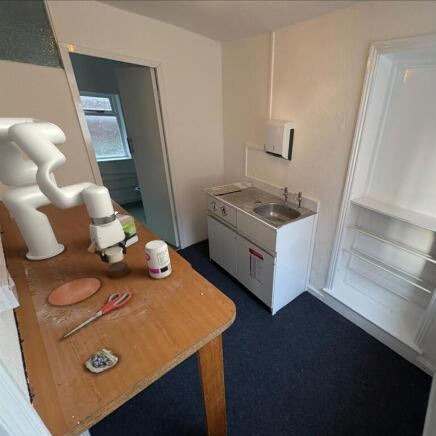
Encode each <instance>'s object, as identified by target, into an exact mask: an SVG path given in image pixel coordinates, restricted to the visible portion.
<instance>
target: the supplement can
mask: <svg viewBox="0 0 436 436" xmlns="http://www.w3.org/2000/svg"><path fill="white" fill-rule="evenodd" d="M144 254H145V258H146V262H147V267H148V272H149V275H150V277H151V278H153V279H155V280H159V279H163V278H166V277H168V276H169V275H170V274H171V273H172V266H171V265H172V264H171V260H170V253H169V248H168V244H167V243H166V242H165V240H162V239H155V240H151V241H149V242H147V243H146V244H145V247H144Z"/></svg>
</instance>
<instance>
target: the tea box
mask: <svg viewBox="0 0 436 436" xmlns="http://www.w3.org/2000/svg"><path fill="white" fill-rule="evenodd" d="M116 218H117V219H118V220H119V222H120V224H121V226H122V228H123V231H125V232H128V233H130V236H129V238H128V240H127V242H126V245H125V246H126V248H128V247H129V246H131V245H133V244H135V243H137V242H139V237H138V233H137V228H136V223H135V219H134V216H132V215H126V214H122V213H118V214H117V215H116ZM118 245H119V243H116V244H114V245H111V246H109V247H107V248H106V250H107V249H109V248H112V247H118ZM95 250H98V246H97V247H95Z"/></svg>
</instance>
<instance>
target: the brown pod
mask: <svg viewBox="0 0 436 436" xmlns="http://www.w3.org/2000/svg"><path fill="white" fill-rule="evenodd" d="M107 271H108V274H109V277H110V278H112V279H118V278H122V277H124V276H126V275H128V274H129V266H128V263H127V262H126V261H118V262H115V263H110V265H109V266H108V267H107Z"/></svg>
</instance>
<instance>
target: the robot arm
mask: <svg viewBox="0 0 436 436" xmlns="http://www.w3.org/2000/svg"><path fill="white" fill-rule="evenodd" d="M66 141H67V138H66V134H65V133H64V131H63V130H62V128H60V127H59V125H56V124H55V123H53V122H50V121H46V120H42V119H38V118H33V117H5V116H4V117H1V116H0V183H1V184H2V185H5V186H6V187H17V186H21V187H17V188H12V189H9V190H7V191H4V192H3V193H2V194H1V196H0V201H1V203H2V204H3V205H4V207H5V209H7V211H8V212H9V214H10V215H11V216H12V218H13V220H14V222H15V225H16V226H17V228H18V230H19V232H20V234H21V237H22V238H23V240H24V243H25V245H26V247H27V250H28V252H27V253H26V254H25V256H26V258H27V260H31V261H40V260H41V261H42V260H46V259H49V258H53V257H55V256H57V255H59V254H61V253H62V252H63V251H65V246H64V244H62V243H58V240H57V238H56V235H55V233H54V231H53V227H52V225H51V223H50V221H49V218H48V216H47V215H46V214H45V213H44V212H42V211H40V210H37V209H38V208H41V207H44V206H49V205H52V204H53V205H54V206H55V207H57V208H59V209H62V210H67V209H71V208H75V207H78V206H81V205H84V204H85V207H86V210H87V214H88V216H89V219H90V223H89V224H88V225H89V226H88V227H89V228H88V229H89V230H88V231H89V237H90V241H91V244H90V245H89V247H88V248H87V249H86V250H87V252H89V253H91V254H96V255H99V257H100V260H101V262H102V263H103V262H104V263H106V264H110V263H109V259H108V256H107V254H105V251H106V248H107V247H109V246H111V245H114V244H116V243H119V245H118V247H122V248H123V250H122V253H123V255H127V254H128V253H127V247H126V246H125V245H126V242H127V240H128V238H129V236H130V233H128V232H125V231H123V228H122V226H121V224H120V222H119V220H118V219H117V218H116V215H117V214H119V213H118V211H117V210H116V211H115V210H114V206H113V202H112V199H111V196H110V192H109V189H108V188H107V187H105V186H103V185H97V184H96V183H93V182H90V181H84V182H79V183H76V184H71V185H70V184H69V185H66V186H61V187H58V183H57V181H56V177H55V175H54V172H55V171H57V170H58V169H61V168H62V167H64V165H65V164H66V161H67V158H66V156H65V155H64V154H63V153H62V152H61V151H60V149H59V148H58V146H62V145H64V144H65V143H66ZM13 143H15V145H14V144H13ZM22 152H23V153H24V154H25V155H26V156H27V158H29V159H24V158H23V154H22ZM35 183H36V184H35ZM29 184H32V185H29ZM24 185H25V186H24ZM97 246H98V250H97V249H96V247H97Z"/></svg>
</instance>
